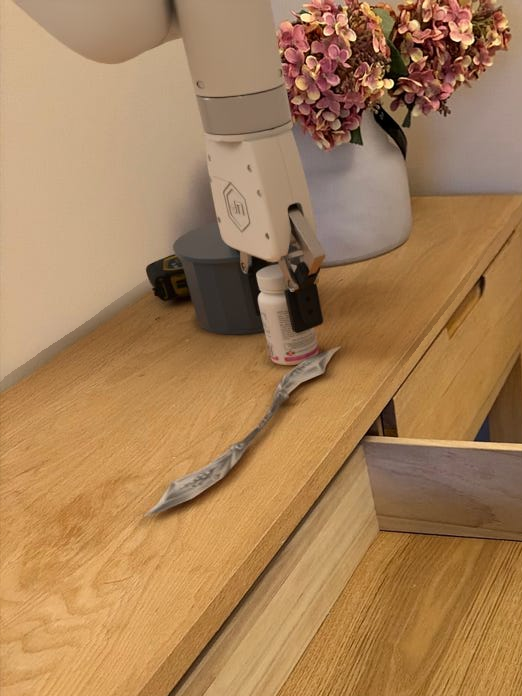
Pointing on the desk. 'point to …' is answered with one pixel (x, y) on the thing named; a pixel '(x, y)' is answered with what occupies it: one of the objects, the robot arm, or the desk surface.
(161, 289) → the tape measure
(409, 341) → the desk surface
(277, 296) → the pill bottle
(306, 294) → the robot arm
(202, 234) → the pot lid
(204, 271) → the pot
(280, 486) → the desk surface
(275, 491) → the desk surface
